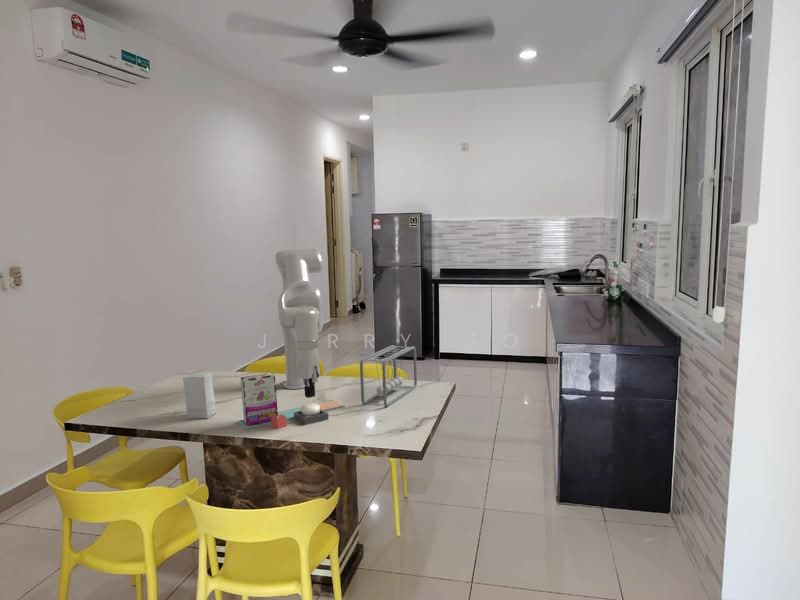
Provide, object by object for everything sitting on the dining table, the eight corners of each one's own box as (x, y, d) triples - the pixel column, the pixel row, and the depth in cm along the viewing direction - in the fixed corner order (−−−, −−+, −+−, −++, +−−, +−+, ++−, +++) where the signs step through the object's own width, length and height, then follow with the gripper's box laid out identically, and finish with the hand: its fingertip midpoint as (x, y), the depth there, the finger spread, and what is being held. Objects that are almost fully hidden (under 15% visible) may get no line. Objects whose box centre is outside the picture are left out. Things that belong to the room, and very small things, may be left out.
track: (236, 422, 197) (236, 421, 197) (333, 400, 218) (333, 399, 218) (245, 429, 189) (245, 428, 189) (345, 406, 210) (345, 405, 210)
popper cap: (298, 412, 199) (298, 406, 198) (315, 408, 202) (314, 402, 202) (306, 417, 193) (306, 410, 193) (323, 413, 197) (322, 406, 197)
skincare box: (216, 413, 208) (213, 372, 206) (207, 419, 201) (204, 376, 199) (195, 412, 209) (192, 371, 207) (185, 418, 202) (182, 376, 201)
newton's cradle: (386, 408, 207) (384, 361, 205) (361, 405, 212) (359, 359, 209) (417, 387, 234) (416, 345, 232) (394, 385, 239) (393, 343, 236)
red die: (271, 426, 191) (270, 415, 191) (279, 423, 194) (279, 412, 193) (278, 428, 189) (277, 417, 188) (286, 425, 192) (285, 414, 191)
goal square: (305, 407, 211) (305, 406, 211) (334, 401, 218) (334, 400, 218) (315, 412, 204) (315, 411, 204) (344, 406, 211) (344, 405, 211)
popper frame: (294, 418, 199) (293, 412, 199) (317, 413, 204) (316, 407, 204) (304, 424, 192) (304, 418, 192) (328, 419, 197) (328, 413, 197)
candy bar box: (274, 416, 202) (272, 371, 200) (278, 420, 197) (275, 374, 195) (243, 422, 197) (240, 376, 195) (246, 426, 192) (243, 379, 190)
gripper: (288, 343, 199) (291, 394, 201) (306, 349, 187) (309, 403, 188) (307, 340, 203) (310, 390, 205) (327, 346, 191) (329, 399, 193)
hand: (310, 396), depth 197 cm, fingers closed
